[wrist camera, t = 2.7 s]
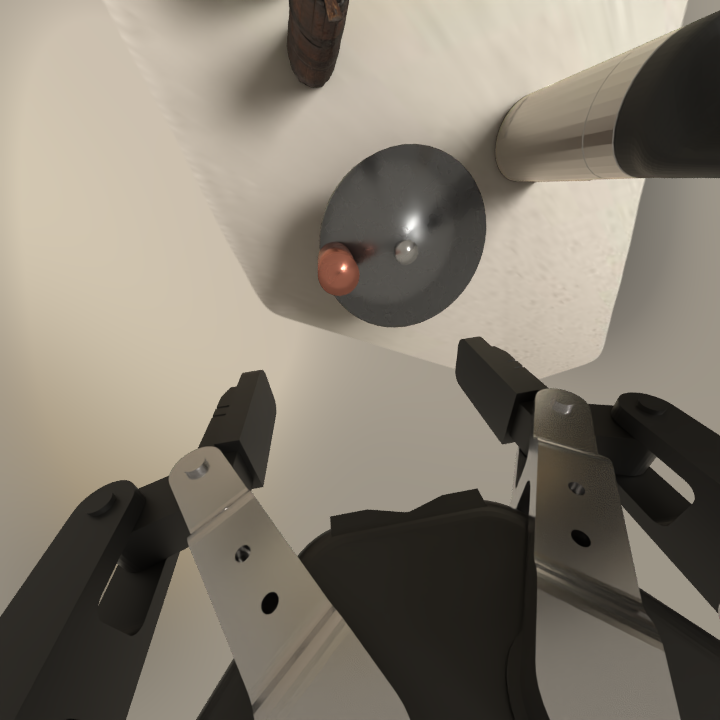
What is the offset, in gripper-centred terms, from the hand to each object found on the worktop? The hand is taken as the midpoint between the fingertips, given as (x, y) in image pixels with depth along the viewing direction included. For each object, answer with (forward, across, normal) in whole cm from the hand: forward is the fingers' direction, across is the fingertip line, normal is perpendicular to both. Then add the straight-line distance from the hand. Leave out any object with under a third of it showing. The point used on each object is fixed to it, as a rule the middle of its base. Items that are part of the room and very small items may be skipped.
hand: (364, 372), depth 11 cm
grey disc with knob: (+22, -7, 0) cm, 23 cm away
